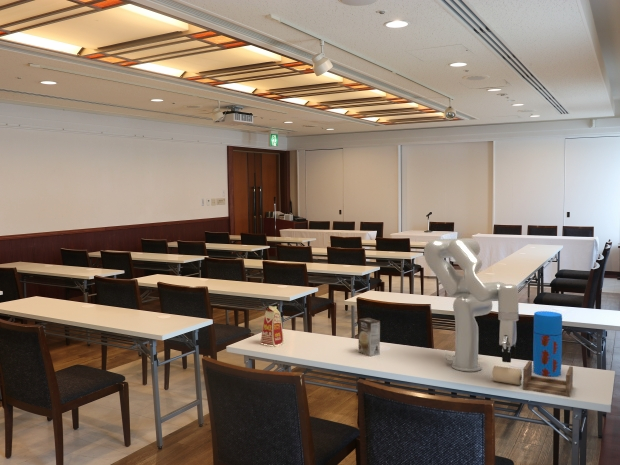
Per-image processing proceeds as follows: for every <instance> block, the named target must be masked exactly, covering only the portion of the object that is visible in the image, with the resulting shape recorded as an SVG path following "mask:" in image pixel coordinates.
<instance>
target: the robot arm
mask: <svg viewBox="0 0 620 465" xmlns="http://www.w3.org/2000/svg"><path fill="white" fill-rule="evenodd" d="M423 250H424V251H423V255H424V256H423V257H424V260H425V263H426V264H427V266H428V268H429V269H430V270H431V271H432V272H433V273H434V275H435V276H436V278H437V279H438V281H439V283H440V284H441V286H442V287H443V289H444V291H445V292H446V294H447V295H448V296H450V297H452V298H455V299H454V301H453V304H452V308H453V313H454V320H455V321H454V323H455V334H454V335H455V337H454V338H455V342H454V344H455V345H454V348H455V349H454V352H455V354H454V355H447V354H446V355H445V360H446V362H452V363H451V368H452V369H454V370H457V371H459V372H460V371H461V372H468V373H469V372H478V371H481V370H482V369H483V366H482V364H481V363H479V326H478V324H479V323H478V322H477V321H476V318H475V317H479V316H485V315H488V314H490V313H491V312H492V310H493V302H497V311H498V312H497V314H498V315H497V316H498V318H497V319H498V320H499V341H498V343H499V344H498V345H499V346H502V349H501V360H502V362H503V363H508V364H510V363H512V357H513V358H515V357H517V351H516V350H517V347H516V343H517V322H518V321H519V320H520V319H519V314H520V313H519V288H518V285H515V284H512V283H511V284H510V283H509V284H508V283H504V282H500V281H495V282H482V281H481V280H480V279H479V277H478V275H477V273H478V272H479V271H480V269H481V268H482V266H483V261H482V260H481V258H479V256H478V255H479V254H480V251H481V247H480V243H479V242H478V241H477V240H476V239H474V238H472V237H470V238H469V237H468V238H467V237H466V238H447V239H446V238H443V239H433V240H431V241H428V242H427V243H426V245H425V246H424V249H423ZM446 258H453V260H454V262H456V264H457V265H458V266H459V268H460V269H461V270H462V272H464V274H459V273H458V272H457V270H456V269H455V267H454V266H453V265H452V264H451V263H450V262H449V261H447V260H445V259H446Z"/></svg>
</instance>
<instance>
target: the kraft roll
mask: <svg viewBox="0 0 620 465" xmlns="http://www.w3.org/2000/svg"><path fill="white" fill-rule="evenodd" d="M522 373H523V372H522V369H521V368H520V369H519V368H514V367H513V368H512V367H505V366H499V365H494V366H493V367H492V381H493V382H496V383H497V382H498V383H504V384H511V385H517V386H520V385H521V383H522V381H523V374H522Z"/></svg>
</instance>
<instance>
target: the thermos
mask: <svg viewBox="0 0 620 465" xmlns="http://www.w3.org/2000/svg"><path fill="white" fill-rule="evenodd" d="M532 338H533V339H532V340H533V347H532V350H533V351H532V353H533V354H532V372H533V373H534V374H535V375H536V376H539V377H545V378H555V377H560V376H561V375H562V374H561V373H562V351H563V350H562V348H563V346H562V345H563V343H562V342H563V315H562V313H559V312H557V311H555V312H554V311H550V310H549V311H547V310H546V311H545V310H540V311H535V312H534V314H533V337H532Z"/></svg>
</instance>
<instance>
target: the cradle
mask: <svg viewBox="0 0 620 465" xmlns="http://www.w3.org/2000/svg"><path fill="white" fill-rule="evenodd" d="M522 369H523V372H522V373H523V374H522V390H525V391H530V392H531V391H532V392H537V393H544V394H551V395H556V396H562V397H569V398H570V396H571V393H572V390H573V387H574V385H573V384H574V381H573V380H574V379H573V376H574V367H573V366H571V365H570V366H569V367H568V369H567V371H566V374H565V379H559V378H552V377H546V376H539V375H533V360H528V361H527V363H526V364H525V366H524V367H523V368H522Z"/></svg>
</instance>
